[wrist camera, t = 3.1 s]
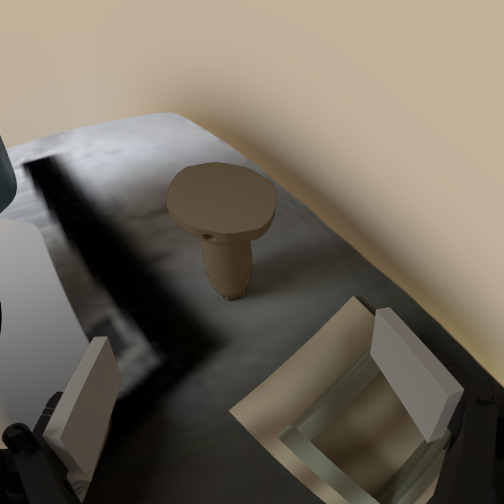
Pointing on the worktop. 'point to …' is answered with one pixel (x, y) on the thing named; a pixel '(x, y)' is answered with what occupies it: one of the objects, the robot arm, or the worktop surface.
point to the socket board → (343, 420)
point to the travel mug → (491, 493)
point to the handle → (223, 218)
